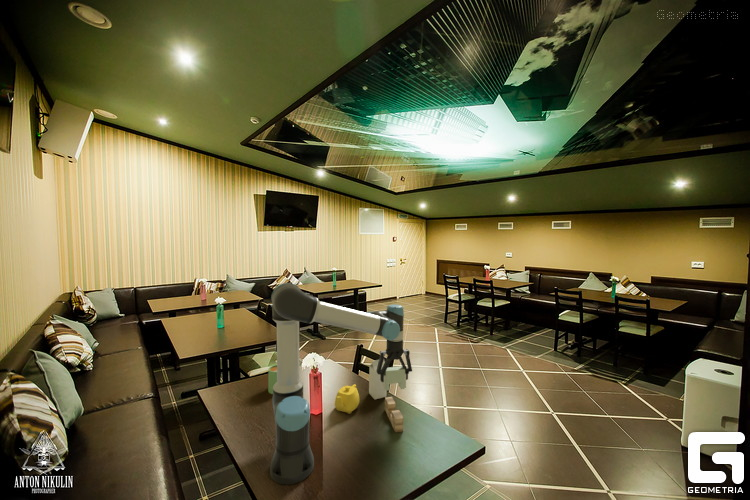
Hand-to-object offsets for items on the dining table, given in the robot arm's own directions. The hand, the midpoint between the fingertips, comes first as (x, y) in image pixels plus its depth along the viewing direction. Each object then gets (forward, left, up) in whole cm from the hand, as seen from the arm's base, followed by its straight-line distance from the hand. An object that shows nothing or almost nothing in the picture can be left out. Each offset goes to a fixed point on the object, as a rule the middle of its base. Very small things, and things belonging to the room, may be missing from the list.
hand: (394, 387), depth 138 cm
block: (0, 0, 0) cm, 0 cm away
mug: (+40, +55, -15) cm, 70 cm away
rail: (0, 0, -15) cm, 15 cm away
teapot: (+13, +20, -15) cm, 28 cm away
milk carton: (+23, +2, -15) cm, 28 cm away
